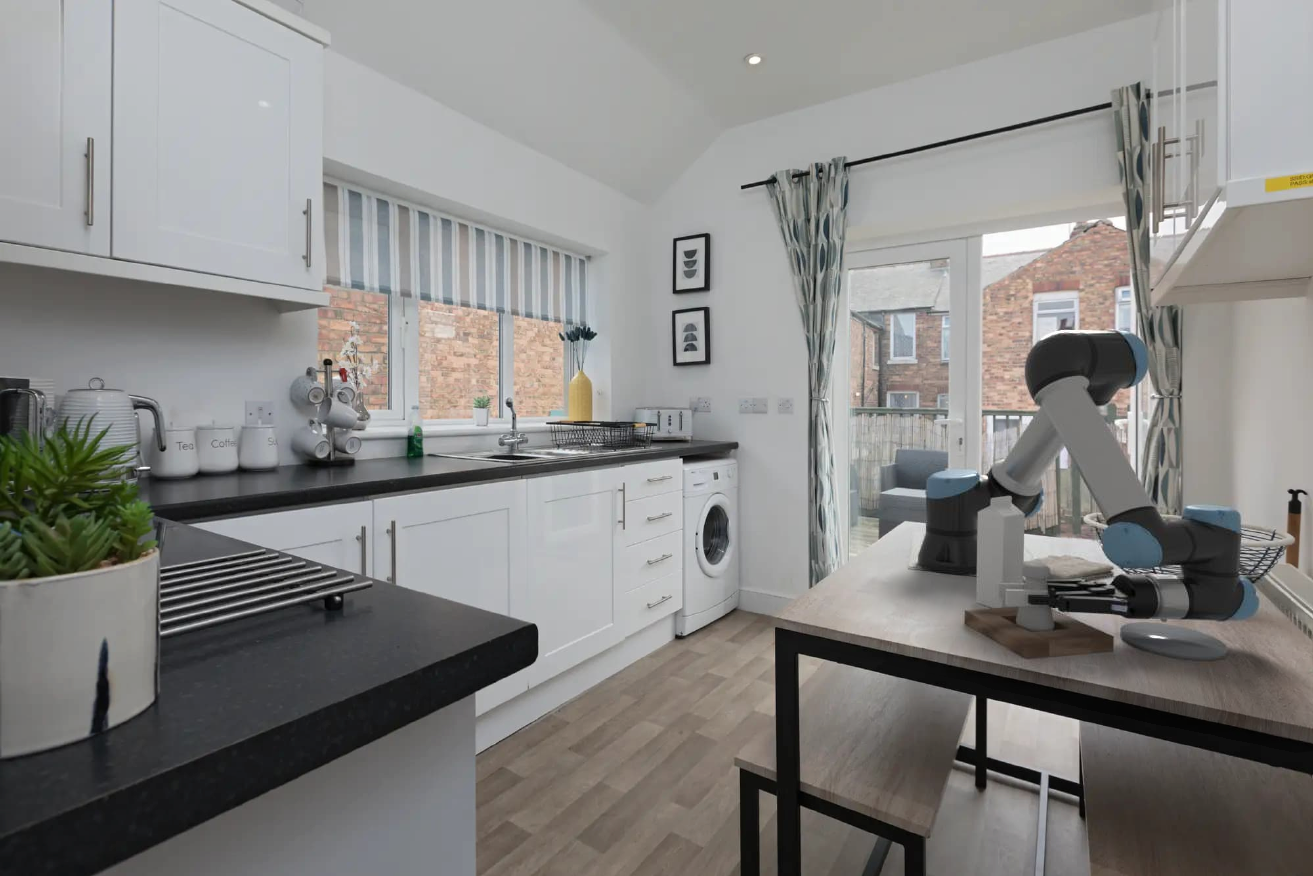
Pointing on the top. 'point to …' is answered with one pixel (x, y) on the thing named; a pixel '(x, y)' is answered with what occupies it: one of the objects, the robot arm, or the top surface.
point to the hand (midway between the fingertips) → (1002, 594)
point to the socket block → (1039, 634)
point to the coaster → (1173, 641)
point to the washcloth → (1073, 567)
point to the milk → (999, 549)
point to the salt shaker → (1035, 615)
